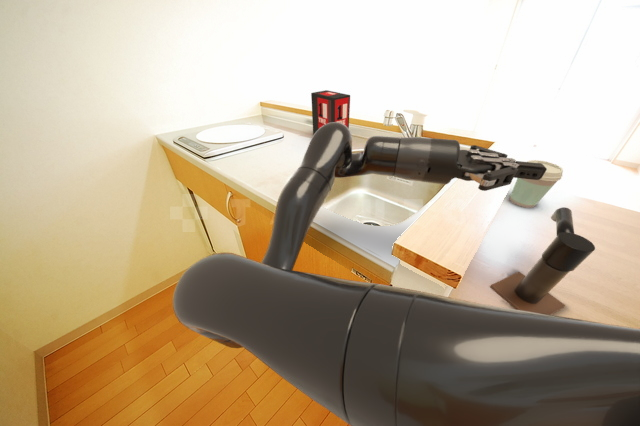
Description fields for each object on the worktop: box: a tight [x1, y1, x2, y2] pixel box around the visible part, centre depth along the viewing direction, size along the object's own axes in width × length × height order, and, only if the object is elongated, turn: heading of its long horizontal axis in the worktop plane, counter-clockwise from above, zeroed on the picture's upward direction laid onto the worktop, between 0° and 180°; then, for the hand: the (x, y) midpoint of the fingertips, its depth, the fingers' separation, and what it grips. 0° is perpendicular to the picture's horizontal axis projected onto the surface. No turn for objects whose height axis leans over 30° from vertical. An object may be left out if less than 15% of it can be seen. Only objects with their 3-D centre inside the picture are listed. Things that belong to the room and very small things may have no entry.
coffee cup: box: [508, 159, 564, 209], centre depth 62 cm, size 9×8×12 cm
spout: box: [541, 207, 596, 272], centre depth 38 cm, size 15×4×4 cm, turn 142°
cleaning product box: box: [310, 89, 351, 136], centre depth 107 cm, size 16×9×20 cm, turn 37°
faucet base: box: [489, 256, 571, 315], centre depth 39 cm, size 8×8×10 cm
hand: (542, 172), depth 35 cm, fingers closed
